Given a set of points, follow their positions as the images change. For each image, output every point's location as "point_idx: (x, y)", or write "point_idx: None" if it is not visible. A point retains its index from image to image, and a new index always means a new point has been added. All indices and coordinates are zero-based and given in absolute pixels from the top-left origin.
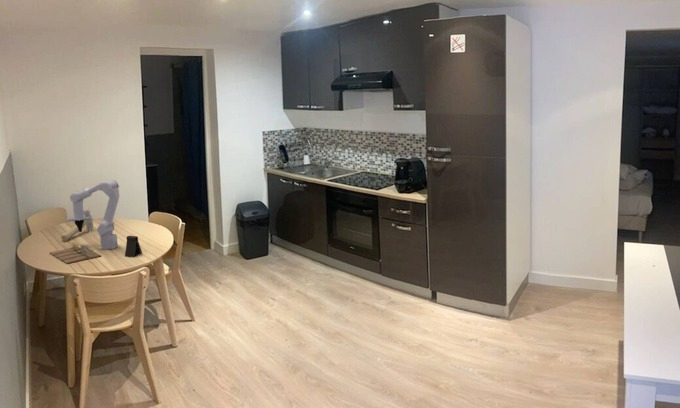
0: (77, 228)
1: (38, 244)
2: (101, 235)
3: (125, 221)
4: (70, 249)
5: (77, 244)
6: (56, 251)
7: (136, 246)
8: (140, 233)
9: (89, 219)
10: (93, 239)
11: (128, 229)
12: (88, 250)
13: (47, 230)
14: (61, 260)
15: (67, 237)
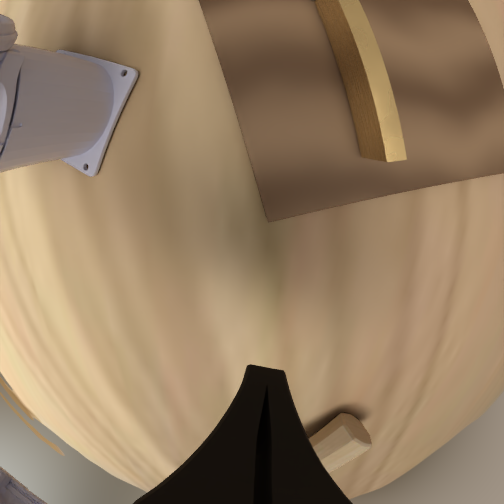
0: None
1: (463, 396)
2: (17, 91)
3: (106, 465)
4: None
5: (349, 17)
6: (488, 164)
7: None
8: (3, 329)
9: (11, 491)
10: (179, 380)
11: (61, 407)
12: (232, 21)
13: None
14: None
15: (341, 429)
